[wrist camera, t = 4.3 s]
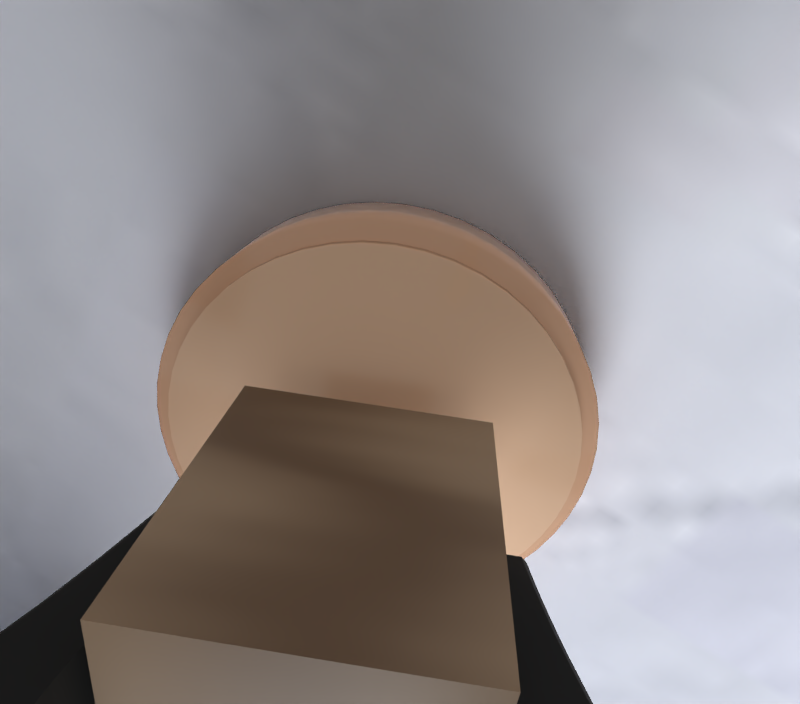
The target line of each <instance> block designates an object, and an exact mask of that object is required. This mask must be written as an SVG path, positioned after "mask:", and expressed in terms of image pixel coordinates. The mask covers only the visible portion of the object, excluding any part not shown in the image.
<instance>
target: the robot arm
mask: <svg viewBox="0 0 800 704" xmlns="http://www.w3.org/2000/svg"><path fill="white" fill-rule="evenodd" d="M155 513H156V512H155ZM155 513H154V514H155ZM154 514H153V515H151V516H150V517H149V518H148V519H146V520H145V521H144V522H143V523H141V524H140V525H139V526H138V527H137V528H135V529H134V530H133V531H132V532H130V533H129V534H128V535H127V536H126V537H124V538H123V539H122V540H121V541H119V542H118V543H117V544H116V545H114V546H113V547H112V548H111V549H109V550H108V551H107V552H106V553H105V554H103V555H102V556H101V557H100V558H98V559H97V560H96V561H95V562H93V563H92V564H91V565H89V566H88V567H87V568H86V569H84V570H83V571H82V572H80V573H79V574H78V575H77V576H75V577H74V578H73V579H71V580H70V581H69V582H68V583H66V584H65V585H64V586H62V587H61V588H60V589H58V590H57V591H56V592H55V593H53V594H52V595H51V596H49V597H48V598H47V599H45V600H44V601H43V602H41V603H40V604H39V605H37V606H36V607H35V608H33V609H32V610H31V611H29V612H28V613H27V614H25V615H24V616H22V617H21V618H20V619H18V620H17V621H15V622H14V623H13V624H11V625H10V626H8V627H7V628H6V629H4V630H3V631H1V632H0V704H95V699H94V694H93V688H92V683H91V677H90V672H89V666H88V660H87V655H86V649H85V644H84V638H83V633H82V627H81V621H80V619H81V618H82V617H83V615H84V614H85V612H86V611H87V610H88V608H89V607H90V605H91V604H92V602H93V601H94V600H95V598H96V597H97V595H98V594H99V592H100V591H101V590H102V588H103V587H104V585H105V584H106V582H107V581H108V580H109V578H110V577H111V575H112V574H113V573H114V571H115V570H116V568H117V567H118V565H119V564H120V563H121V561H122V560H123V558H124V557H125V555H126V554H127V553H128V551H129V550H130V548H131V547H132V545H133V544H134V543H135V541H136V540H137V538H138V537H139V536H140V534H141V533H142V531H143V530H144V528H145V527H146V526H147V524H148V523H149V521H150V520H151V518H152V517H153V516H154ZM506 556H507V565H508V575H509V585H510V595H511V604H512V614H513V624H514V633H515V643H516V653H517V663H518V672H519V682H520V692H521V693H520V696H519V699H518V702H517V704H593V703H592V701H591V699H590V697H589V695H588V693H587V691H586V689H585V687H584V686H583V684H582V682H581V680H580V678H579V676H578V674H577V672H576V670H575V668H574V666H573V664H572V662H571V660H570V659H569V657H568V654H567V652H566V650H565V648H564V646H563V644H562V642H561V640H560V638H559V636H558V634H557V632H556V630H555V627H554V625H553V623H552V621H551V619H550V617H549V615H548V612H547V610H546V608H545V606H544V603H543V601H542V599H541V597H540V594H539V592H538V590H537V587H536V585H535V583H534V580H533V578H532V575H531V573H530V570H529V568H528V565H527V563H526V562H525V560H524V559H523V558H522V557H520V556H514V555H507V554H506Z"/></svg>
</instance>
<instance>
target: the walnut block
mask: <svg viewBox="0 0 800 704" xmlns="http://www.w3.org/2000/svg"><path fill="white" fill-rule="evenodd" d="M80 621H81V627H82V633H83V638H84V644H85V649H86V655H87V660H88V666H89V672H90V677H91V683H92V688H93V694H94V699H95V704H517V702H518V699H519V696H520V693H521V692H520V682H519V672H518V663H517V653H516V643H515V633H514V624H513V614H512V604H511V595H510V585H509V575H508V565H507V556H506V546H505V536H504V527H503V517H502V507H501V497H500V488H499V478H498V468H497V458H496V449H495V439H494V429H493V423H491V422H485V421H478V420H471V419H465V418H458V417H451V416H445V415H438V414H431V413H425V412H418V411H411V410H405V409H398V408H391V407H385V406H378V405H371V404H365V403H358V402H352V401H345V400H338V399H332V398H325V397H318V396H312V395H305V394H298V393H292V392H285V391H278V390H272V389H265V388H258V387H252V386H244V388H243V389H242V390H241V392H240V393H239V395H238V396H237V398H236V399H235V400H234V402H233V403H232V405H231V406H230V407H229V409H228V410H227V412H226V413H225V415H224V416H223V417H222V419H221V420H220V422H219V423H218V425H217V426H216V427H215V429H214V430H213V432H212V433H211V435H210V436H209V437H208V439H207V440H206V442H205V443H204V444H203V446H202V447H201V449H200V450H199V452H198V453H197V454H196V456H195V457H194V459H193V460H192V462H191V463H190V464H189V466H188V467H187V469H186V470H185V472H184V473H183V474H182V476H181V477H180V479H179V480H178V481H177V483H176V484H175V486H174V487H173V489H172V490H171V491H170V493H169V494H168V496H167V497H166V499H165V500H164V501H163V503H162V504H161V506H160V507H159V508H158V510H157V511H156V513H155V514H154V516H153V517H152V518H151V520H150V521H149V523H148V524H147V526H146V527H145V528H144V530H143V531H142V533H141V534H140V536H139V537H138V538H137V540H136V541H135V543H134V544H133V545H132V547H131V548H130V550H129V551H128V553H127V554H126V555H125V557H124V558H123V560H122V561H121V563H120V564H119V565H118V567H117V568H116V570H115V571H114V573H113V574H112V575H111V577H110V578H109V580H108V581H107V582H106V584H105V585H104V587H103V588H102V590H101V591H100V592H99V594H98V595H97V597H96V598H95V600H94V601H93V602H92V604H91V605H90V607H89V608H88V610H87V611H86V612H85V614H84V615H83V617H82V618H81V619H80Z"/></svg>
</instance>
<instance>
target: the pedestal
mask: <svg viewBox="0 0 800 704" xmlns="http://www.w3.org/2000/svg"><path fill="white" fill-rule="evenodd" d="M244 386H252V387H258V388H265V389H272V390H278V391H285V392H292V393H298V394H305V395H312V396H318V397H325V398H332V399H338V400H345V401H352V402H358V403H365V404H371V405H378V406H385V407H391V408H398V409H405V410H411V411H418V412H425V413H431V414H438V415H445V416H451V417H458V418H465V419H471V420H478V421H485V422H491V423H493V429H494V439H495V449H496V458H497V468H498V478H499V488H500V497H501V507H502V517H503V527H504V536H505V546H506V554H507V555H514V556H520V557H522V558H523V559H525V558H526V557H527V556H529V555H530V554H532V553H533V552H534V551H536V550H537V549H538V548H539V547H540V546H541V545H542V544H544V543H545V542H546V541H547V540H548V539H549V538H550V537H551V536H552V535H553V534H554V533H555V532H556V531H557V530H558V528H559V527H560V526H561V525H562V523H563V522H564V521H565V520H566V519H567V517H568V516H569V515H570V513H571V511H572V510H573V508H574V507H575V505H576V503H577V502H578V500H579V498H580V497H581V495H582V493H583V490H584V488H585V485H586V483H587V481H588V478H589V476H590V474H591V470H592V466H593V462H594V458H595V454H596V450H597V439H598V427H599V420H598V407H597V396H596V392H595V388H594V384H593V380H592V376H591V372H590V369H589V367H588V364H587V362H586V359H585V357H584V355H583V352H582V350H581V347H580V345H579V343H578V340H577V338H576V336H575V334H574V332H573V329H572V327H571V325H570V323H569V321H568V318H567V316H566V314H565V312H564V311H563V309H562V307H561V306H560V304H559V302H558V301H557V299H556V297H555V296H554V294H553V292H552V291H551V290H550V288H549V287H548V286H547V285H546V283H545V282H544V281H543V280H542V279H541V277H540V276H539V275H538V274H537V272H536V271H535V270H534V269H533V268H532V267H531V266H530V265H529V264H527V263H526V262H525V261H524V260H523V259H522V258H521V257H520V256H519V255H518V254H517V253H515V252H514V251H513V250H512V249H510V248H509V247H508V246H506V245H505V244H503V243H502V242H500V241H499V240H497V239H496V238H494V237H493V236H492V235H490V234H489V233H487V232H485V231H483V230H481V229H479V228H477V227H475V226H473V225H471V224H469V223H467V222H465V221H463V220H460V219H457V218H455V217H452V216H449V215H446V214H443V213H440V212H437V211H435V210H430V209H425V208H420V207H416V206H411V205H406V204H395V203H381V202H367V203H350V204H342V205H337V206H332V207H327V208H322V209H317V210H314V211H311V212H308V213H305V214H302V215H299V216H297V217H294V218H291V219H289V220H287V221H285V222H283V223H281V224H279V225H277V226H275V227H273V228H271V229H269V230H267V231H266V232H264V233H263V234H261V235H260V236H259V237H257V238H256V239H255V240H253V241H252V242H250V243H249V244H248V245H246V246H245V247H244V248H242V249H241V250H240V251H239V252H237V253H236V254H235V255H234V256H232V257H231V258H230V259H229V260H227V261H226V262H225V263H223V264H222V265H221V266H220V267H218V268H217V269H216V270H215V271H214V272H213V273H212V274H211V275H210V276H209V277H208V278H207V279H206V280H205V281H204V282H203V283H202V284H201V285H200V286H199V287H198V288H197V289H196V290H195V291H194V293H193V294H192V296H191V297H190V298H189V300H188V301H187V302H186V304H185V305H184V307H183V308H182V309H181V311H180V312H179V314H178V316H177V318H176V320H175V322H174V324H173V326H172V328H171V330H170V332H169V334H168V337H167V341H166V344H165V347H164V350H163V353H162V356H161V361H160V368H159V374H158V381H157V407H158V414H159V420H160V427H161V432H162V435H163V439H164V442H165V445H166V448H167V452H168V455H169V457H170V459H171V461H172V463H173V466H174V468H175V470H176V472H177V474H178V476H179V478H180V477H181V476H182V474H183V473H184V472H185V470H186V469H187V467H188V466H189V464H190V463H191V462H192V460H193V459H194V457H195V456H196V454H197V453H198V452H199V450H200V449H201V447H202V446H203V444H204V443H205V442H206V440H207V439H208V437H209V436H210V435H211V433H212V432H213V430H214V429H215V427H216V426H217V425H218V423H219V422H220V420H221V419H222V417H223V416H224V415H225V413H226V412H227V410H228V409H229V407H230V406H231V405H232V403H233V402H234V400H235V399H236V398H237V396H238V395H239V393H240V392H241V390H242V389H243V388H244Z"/></svg>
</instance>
